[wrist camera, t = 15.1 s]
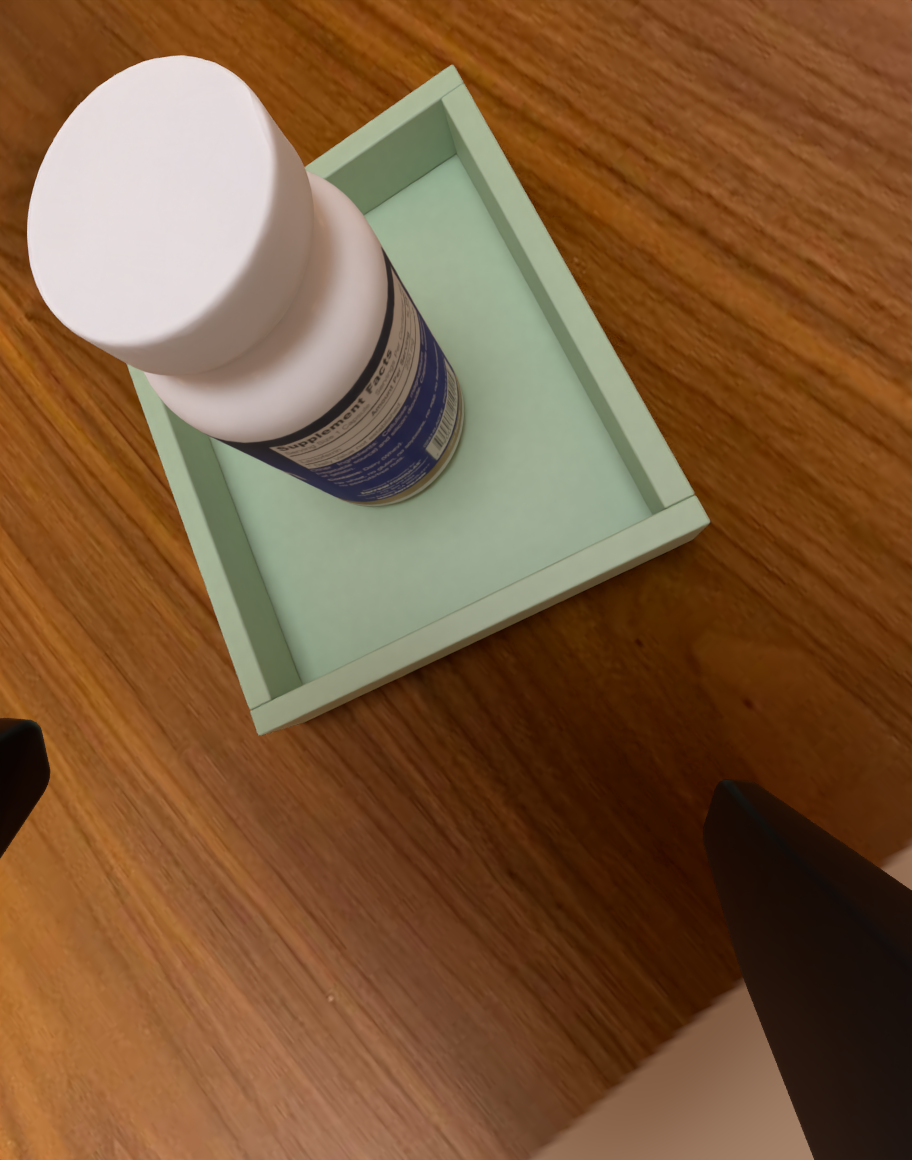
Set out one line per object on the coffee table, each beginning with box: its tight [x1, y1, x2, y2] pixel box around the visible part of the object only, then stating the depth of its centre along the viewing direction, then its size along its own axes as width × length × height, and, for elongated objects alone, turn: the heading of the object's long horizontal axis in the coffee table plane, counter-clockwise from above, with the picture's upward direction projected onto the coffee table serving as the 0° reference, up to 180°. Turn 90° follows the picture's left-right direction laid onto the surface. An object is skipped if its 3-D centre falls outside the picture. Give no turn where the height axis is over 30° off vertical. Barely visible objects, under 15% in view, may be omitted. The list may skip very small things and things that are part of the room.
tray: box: [127, 65, 710, 736], centre depth 17 cm, size 16×14×2 cm
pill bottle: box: [27, 55, 464, 506], centre depth 13 cm, size 6×6×10 cm
